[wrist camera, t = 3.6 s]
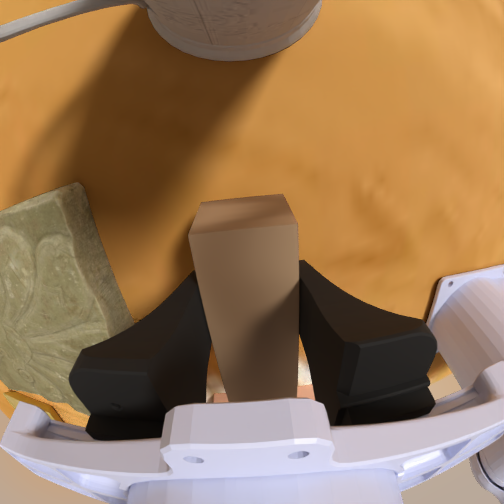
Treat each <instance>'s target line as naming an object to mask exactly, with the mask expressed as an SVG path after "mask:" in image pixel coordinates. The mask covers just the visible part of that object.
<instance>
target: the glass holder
mask: <svg viewBox="0 0 504 504" xmlns="http://www.w3.org/2000/svg"><path fill="white" fill-rule="evenodd" d="M127 4H136V5H138V6H140V7H141V8H146V7H147V12H148V16H149V18H150V21H151V23H152V25H153V27H154V28H155V30H156V31H157V32H158V33H159V35H160V36H161V37H162V38H163V39H165V40H166V41H167V42H168V43H169V44H171V45H172V46H174V47H176V48H177V49H179V50H181V51H183V52H185V53H188V54H191V55H193V56H196V57H200V58H205V59H209V60H216V61H245V60H251V59H256V58H262V57H265V56H268V55H271V54H274V53H277V52H279V51H281V50H283V49H285V48H287V47H289V46H291V45H292V44H293V43H295V42H296V41H298V40H299V39H300V38H302V37H303V36H304V35H305V34H306V33H307V32H308V31H309V29H310V28H311V27H312V25H313V24H314V22H315V21H316V19H317V17H318V15H319V12H320V9H321V6H322V0H77V1H73V2H70V3H67V4H63V5H60V6H57V7H54V8H50V9H47V10H44V11H41V12H38V13H35V14H32V15H29V16H26V17H23V18H21V19H18V20H15V21H12V22H9V23H7V24H4V25H0V42H4V41H6V40H8V39H11V38H13V37H16V36H18V35H21V34H24V33H26V32H29V31H31V30H34V29H36V28H39V27H42V26H45V25H48V24H51V23H54V22H57V21H60V20H63V19H67V18H70V17H73V16H76V15H80V14H83V13H87V12H91V11H95V10H99V9H103V8H108V7H113V6H120V5H127Z"/></svg>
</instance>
